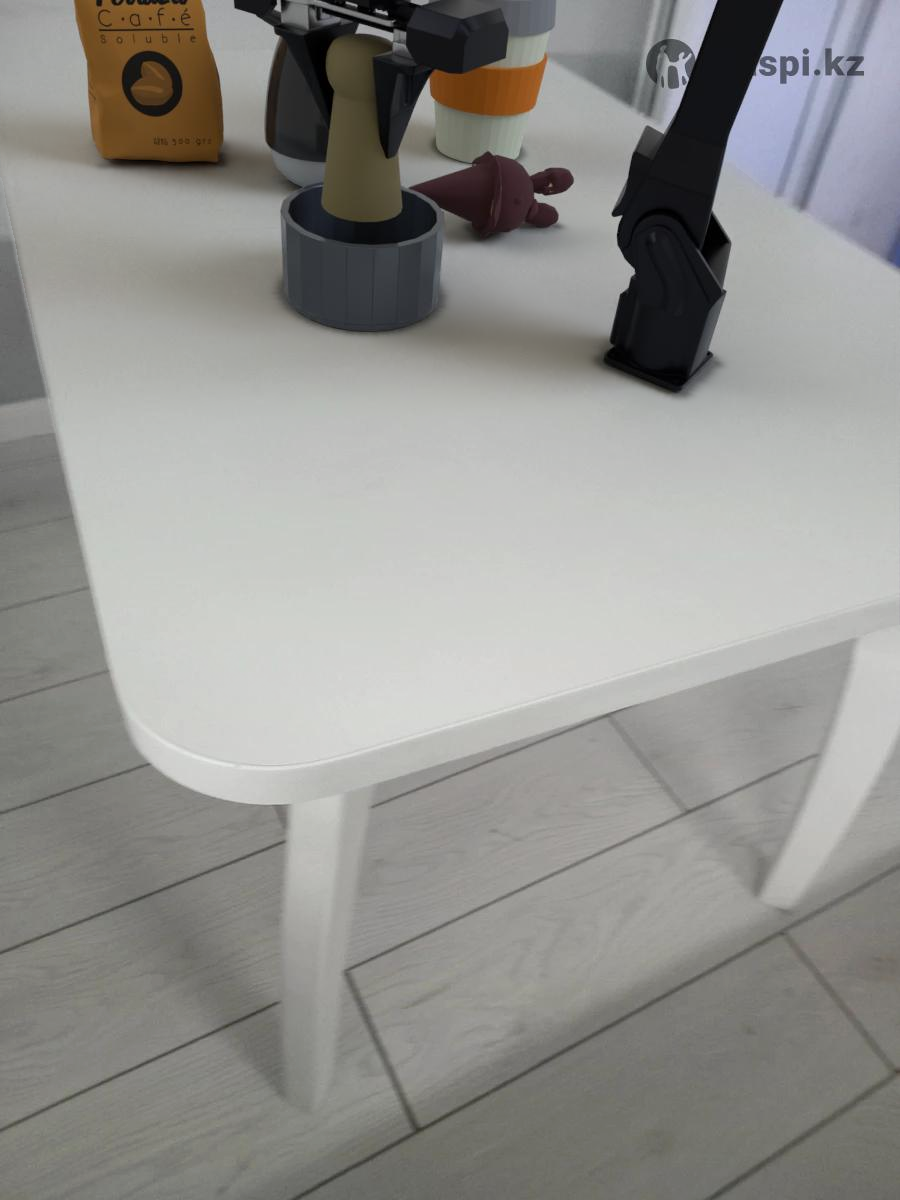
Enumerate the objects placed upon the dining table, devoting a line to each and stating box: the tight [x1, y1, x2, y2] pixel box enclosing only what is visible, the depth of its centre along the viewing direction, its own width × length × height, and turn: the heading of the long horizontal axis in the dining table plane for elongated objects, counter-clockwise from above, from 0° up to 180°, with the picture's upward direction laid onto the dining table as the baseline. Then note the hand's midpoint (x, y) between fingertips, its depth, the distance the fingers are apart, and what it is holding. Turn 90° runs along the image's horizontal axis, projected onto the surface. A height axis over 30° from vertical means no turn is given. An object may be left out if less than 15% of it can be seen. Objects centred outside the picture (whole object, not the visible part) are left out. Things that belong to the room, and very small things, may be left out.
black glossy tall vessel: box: [255, 8, 329, 188], centre depth 83 cm, size 10×10×15 cm
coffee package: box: [73, 0, 225, 163], centre depth 82 cm, size 10×12×22 cm
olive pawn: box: [321, 32, 402, 222], centre depth 65 cm, size 6×6×11 cm
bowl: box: [279, 182, 445, 332], centre depth 71 cm, size 12×12×6 cm
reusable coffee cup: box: [427, 0, 557, 164], centre depth 93 cm, size 13×13×15 cm
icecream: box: [407, 151, 575, 239], centre depth 81 cm, size 7×7×15 cm
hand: (364, 148), depth 66 cm, fingers closed on olive pawn, 4 cm apart
